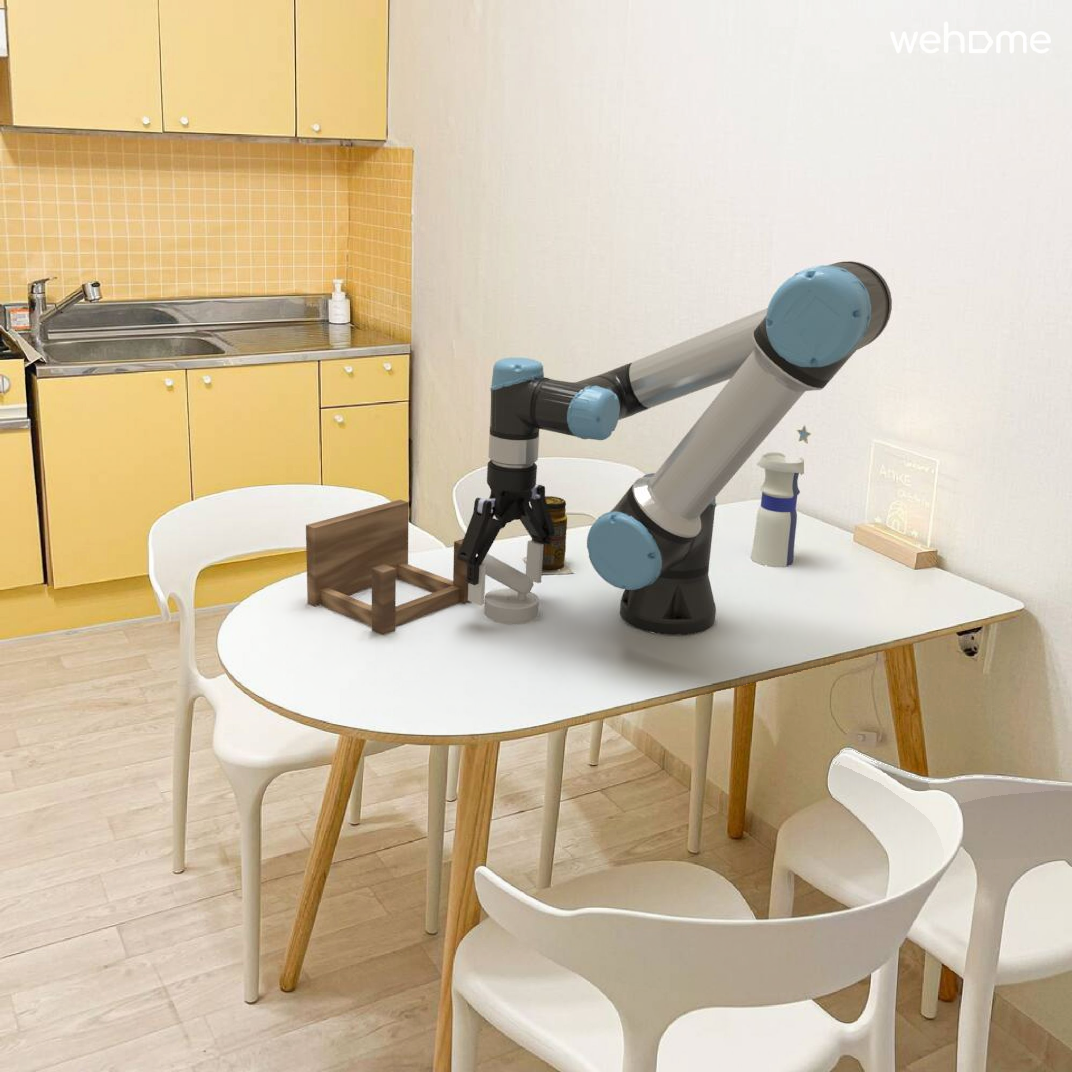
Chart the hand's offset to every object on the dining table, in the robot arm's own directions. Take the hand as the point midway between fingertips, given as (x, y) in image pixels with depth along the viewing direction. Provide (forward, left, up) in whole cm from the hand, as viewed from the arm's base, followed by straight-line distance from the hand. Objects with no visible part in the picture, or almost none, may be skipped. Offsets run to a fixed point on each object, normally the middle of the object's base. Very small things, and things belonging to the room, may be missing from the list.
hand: (505, 591), depth 182 cm
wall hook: (0, 0, -4) cm, 4 cm away
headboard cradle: (+16, +10, -4) cm, 19 cm away
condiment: (+9, -21, -4) cm, 23 cm away
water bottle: (-17, -54, -4) cm, 57 cm away
